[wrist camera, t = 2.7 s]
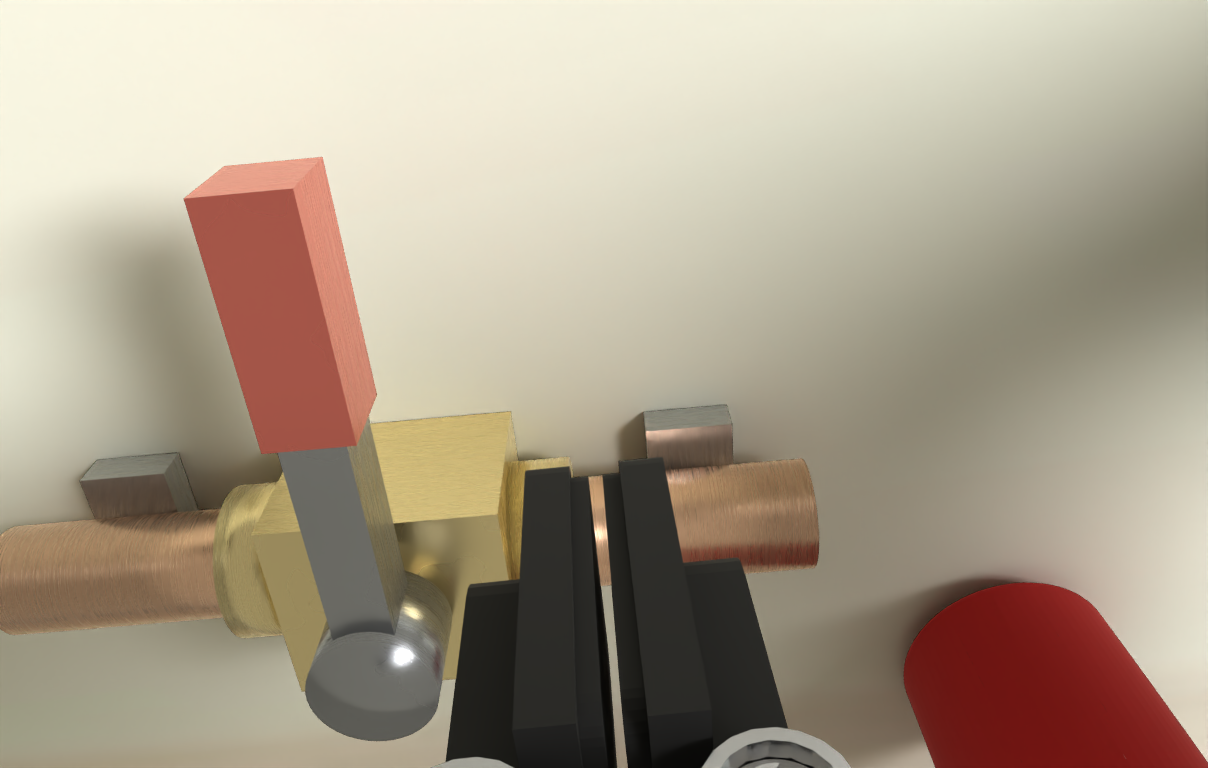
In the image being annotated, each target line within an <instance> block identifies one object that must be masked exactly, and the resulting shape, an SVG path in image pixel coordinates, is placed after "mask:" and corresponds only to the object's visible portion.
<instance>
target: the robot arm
mask: <svg viewBox="0 0 1208 768" xmlns="http://www.w3.org/2000/svg"><path fill="white" fill-rule="evenodd" d="M619 472H620V473H614V474H604V475H602V478H603V490H604V502H605V514H606V526H607V538H608V550H609V561H610V573H611V585H612V597H613V609H614V621H615V633H616V645H617V657H618V669H619V681H620V693H621V704H622V715H623V725H624V735H625V745H626V754H627V763H628V768H851V766H850V765H849V764H848V762H847V761H846V760H845V758H844V757H843V756H842V755H841V754H840V753H839V752H837V751H836V750H835V749H833V748H832V747H831V746H830V745H828V744H827V743H826V742H824V741H823V740H821V739H818V738H816V737H814V736H811V735H809V734H806V733H804V732H802V731H798V730H792V729H788V727H787V723H786V720H785V716H784V713H783V709H782V706H781V702H780V698H779V695H778V691H777V688H776V684H775V681H774V677H773V673H772V670H771V666H770V663H769V659H768V655H767V652H766V648H765V645H764V641H763V638H762V634H761V630H760V627H759V623H758V620H757V616H756V613H755V609H754V605H753V602H752V598H751V595H750V591H749V588H748V584H747V580H746V577H745V573H744V570H743V567H742V564H741V561H740V559H739V558H738V557H735V558H726V559H716V560H706V561H696V562H686V563H683V559H682V554H681V548H680V543H679V538H678V533H677V528H676V523H675V517H674V512H673V507H672V502H671V497H670V491H669V486H668V481H667V476H666V471H665V466H664V461H663V457H655V458H645V459H635V460H625V461H619ZM431 768H617V761H616V747H615V733H614V719H613V706H612V692H611V678H610V665H609V654H608V644H607V635H606V627H605V618H604V609H603V600H602V591H601V583H600V574H599V565H598V556H597V548H596V539H595V530H594V521H593V512H592V504H591V495H590V486H589V478H588V476H584V477H574V478H572V477H571V470H570V466H565V467H555V468H545V469H535V470H526V471H525V478H524V498H523V518H522V539H521V559H520V579H516V580H506V581H496V582H486V583H476V584H470V585H469V587H468V590H467V595H466V602H465V610H464V618H463V626H462V634H461V642H460V650H459V658H458V666H457V674H456V683H455V691H454V699H453V707H452V715H451V723H450V731H449V739H448V747H447V755H446V762H445V763H442V764H439V765H437V766H434V767H431Z"/></svg>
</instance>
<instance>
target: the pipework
mask: <svg viewBox="0 0 1208 768" xmlns="http://www.w3.org/2000/svg"><path fill="white" fill-rule="evenodd" d="M644 424H645V437H646V450H647V458H655V457H663V461H664V466H665V471H666V476H667V481H668V486H669V491H670V497H671V502H672V507H673V512H674V517H675V523H676V528H677V533H678V538H679V543H680V548H681V554H682V559H683V563H686V562H696V561H706V560H716V559H726V558H735V557H738V558H739V559H740V561H741V564H742V567H743V570H744V573H745V574H750V573H762V572H774V571H786V570H798V569H810V568H815V567H816V565H817V561H818V554H819V530H818V517H817V508H816V501H815V495H814V490H813V485H812V481H811V477H810V473H809V470H808V467H807V465H806V463H805V461H804V460H803V459H802V458H800V459H789V460H777V461H766V462H754V463H742V464H733V438H732V422H731V418H730V415H729V411H728V408H727V405H718V406H706V407H695V408H683V409H672V410H660V411H649V412H644ZM370 426H371V430H372V434H373V439H374V443H375V447H376V451H377V455H378V460H379V464H380V468H381V472H382V477H383V481H384V485H385V489H386V493H387V498H388V502H389V506H390V510H391V515H392V519H393V523H394V527H395V531H396V536H397V540H398V544H399V548H400V553H401V557H402V561H403V565H404V569H405V571H408V572H412V573H414V574H417V575H420V576H422V577H423V578H425V579H427V580H429V581H430V582H432V583H433V584H434V585H435V586H437V587H438V588H439V589H440V590H441V592H442V593H443V594H444V595H445V597H446V598H447V600H448V602H449V604H450V607H451V610H452V626H451V632H450V638H449V644H448V650H447V655H446V661H445V667H444V673H443V679H442V680H449V679H456V674H457V666H458V658H459V650H460V642H461V634H462V626H463V618H464V610H465V602H466V595H467V590H468V587H469V585H470V584H476V583H486V582H496V581H506V580H516V579H520V559H521V539H522V518H523V498H524V478H525V471H526V470H535V469H545V468H555V467H565V466H570V470H571V477H572V478H574V476H573V470H572V465H571V460H570V458H569V457H559V458H548V459H536V460H525V461H518V455H517V449H516V442H515V436H514V429H513V423H512V416H511V412H499V413H488V414H476V415H465V416H454V417H442V418H431V419H420V420H408V421H397V422H385V423H374V424H370ZM588 478H589V486H590V495H591V504H592V512H593V521H594V530H595V539H596V548H597V556H598V565H599V574H600V583H601V586H607V585H611V573H610V561H609V550H608V538H607V526H606V514H605V502H604V490H603V478H602V476H592V477H588ZM80 483H81V486H82V488H83V490H84V493H85V495H86V498H87V500H88V502H89V505H90V507H91V510H92V512H93V514H94V517H95V519H93V520H82V521H70V522H58V523H47V524H35V525H24V526H15V527H12V528H10V529H8V530H6V531H5V532H4V533H3V534H2V535H1V536H0V629H1V630H2V631H4V632H5V633H8V634H11V635H23V634H35V633H47V632H58V631H70V630H82V629H94V628H106V627H118V626H130V625H142V624H154V623H166V622H178V621H190V620H202V619H213V618H224V620H225V622H226V624H227V626H228V627H229V629H230V630H231V631H232V632H233V633H234V634H235V635H236V636H238V637H240V638H254V637H266V636H278V635H284V638H285V642H286V645H287V648H288V651H289V654H290V657H291V660H292V663H293V666H294V669H295V672H296V675H297V678H298V681H299V684H300V687H301V690H302V692H303V691H305V684H306V679H307V676H308V673H309V670H310V667H311V664H312V661H313V659H314V656H315V653H316V650H317V647H318V644H319V641H320V638H321V635H322V632H323V629H324V626H325V623H326V621H327V619H326V616H325V612H324V609H323V605H322V602H321V599H320V595H319V592H318V589H317V585H316V582H315V578H314V575H313V572H312V568H311V565H310V561H309V558H308V555H307V551H306V548H305V545H304V541H303V538H302V534H301V531H300V528H299V524H298V521H297V517H296V514H295V511H294V507H293V504H292V501H291V497H290V494H289V490H288V487H287V484H286V480H285V477H284V474H283V472H282V474H281V476H280V478H279V480H278V482H271V483H260V484H248V485H240V486H237V487H235V488H234V489H232V490H231V492H230V493H229V494H228V495H227V497H226V498H225V500H224V502H223V504H222V507H221V509H209V510H198V507H197V504H196V501H195V499H194V496H193V493H192V490H191V487H190V485H189V482H188V479H187V476H186V473H185V470H184V468H183V465H182V462H181V459H180V456H179V453H170V454H158V455H147V456H135V457H124V458H112V459H101V460H97V461H96V462H95V463H94V464H93V465H92V467H91V468H90V469H89V470H88V471H87V473H86V474H85V475H84V476H83V477H82V479H81V480H80Z"/></svg>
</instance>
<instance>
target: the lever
mask: <svg viewBox="0 0 1208 768" xmlns="http://www.w3.org/2000/svg"><path fill="white" fill-rule="evenodd" d="M184 201H185V205H186V208H187V211H188V214H189V218H190V221H191V224H192V228H193V231H194V234H195V237H196V241H197V244H198V247H199V251H200V254H201V257H202V260H203V264H204V267H205V270H206V273H207V277H208V280H209V283H210V287H211V290H212V293H213V296H214V300H215V303H216V306H217V310H218V313H219V316H220V319H221V323H222V326H223V329H224V332H225V336H226V339H227V342H228V346H229V349H230V352H231V355H232V359H233V362H234V365H235V369H236V372H237V375H238V378H239V382H240V385H241V388H242V391H243V395H244V398H245V401H246V405H247V408H248V411H249V414H250V418H251V421H252V424H253V428H254V431H255V434H256V437H257V441H258V444H259V447H260V451H261V454H268V453H278V457H279V460H280V463H281V467H282V470H283V474H284V477H285V480H286V484H287V487H288V490H289V494H290V497H291V501H292V504H293V507H294V511H295V514H296V517H297V521H298V524H299V528H300V531H301V534H302V538H303V541H304V545H305V548H306V551H307V555H308V558H309V561H310V565H311V568H312V572H313V575H314V578H315V582H316V585H317V589H318V592H319V595H320V599H321V602H322V605H323V609H324V612H325V616H326V619H327V621H326V623H325V626H324V629H323V632H322V635H321V638H320V641H319V644H318V647H317V650H316V653H315V656H314V659H313V661H312V664H311V667H310V670H309V673H308V676H307V679H306V684H305V694H306V698H307V701H308V704H309V706H310V708H311V709H312V711H313V712H314V714H315V715H316V716H317V717H318V718H319V719H320V720H321V721H322V722H323V723H325V724H326V725H327V726H329V727H330V728H332V729H333V730H335V731H337V732H339V733H341V734H344V735H346V736H349V737H353V738H357V739H361V740H368V741H387V740H394V739H399V738H402V737H405V736H408V735H411V734H413V733H415V732H416V731H418V730H420V729H421V728H422V727H424V726H425V725H426V724H427V723H428V722H429V721H430V720H431V719H432V717H433V715H434V714H435V712H436V709H437V706H438V702H439V696H440V690H441V685H442V679H443V673H444V667H445V661H446V655H447V650H448V644H449V638H450V632H451V626H452V610H451V607H450V604H449V602H448V600H447V598H446V597H445V595H444V594H443V593H442V592H441V590H440V589H439V588H438V587H437V586H435V585H434V584H433V583H432V582H430V581H429V580H427V579H425V578H423V577H422V576H420V575H417V574H414V573H412V572H408V571H405V569H404V565H403V561H402V557H401V553H400V548H399V544H398V540H397V536H396V531H395V527H394V523H393V519H392V515H391V510H390V506H389V502H388V498H387V493H386V489H385V485H384V481H383V477H382V472H381V468H380V464H379V460H378V455H377V451H376V447H375V443H374V439H373V434H372V430H371V426H370V422H369V417H368V416H369V414H370V411H371V409H372V406H373V403H374V401H375V398H376V396H377V393H376V388H375V384H374V380H373V375H372V371H371V367H370V362H369V358H368V353H367V349H366V345H365V340H364V336H363V332H362V327H361V323H360V319H359V314H358V310H357V305H356V301H355V297H354V292H353V288H352V284H351V279H350V275H349V271H348V266H347V262H346V257H345V253H344V249H343V244H342V240H341V236H340V231H339V227H338V223H337V218H336V214H335V209H334V205H333V201H332V196H331V192H330V188H329V183H328V179H327V175H326V170H325V166H324V161H323V157H317V158H306V159H295V160H285V161H274V162H264V163H253V164H242V165H232V166H224V167H223V168H221V169H220V170H219V171H218V172H216V173H215V174H214V175H213V176H211V177H210V178H209V179H208V180H206V181H205V182H204V183H203V184H201V185H200V186H199V187H198V188H196V189H195V190H194V191H193V192H191V193H190V194H189V195H188V196H186V197H185V198H184Z"/></svg>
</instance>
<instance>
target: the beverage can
mask: <svg viewBox="0 0 1208 768" xmlns="http://www.w3.org/2000/svg"><path fill="white" fill-rule="evenodd" d="M904 685H905V689H906V693H907V695H908V698H909V700H910V703H911V706H912V708H913V711H914V713H915V716H916V719H917V721H918V724H919V726H920V729H921V732H922V734H923V737H924V739H925V742H926V745H927V747H928V750H929V752H930V755H931V757H932V760H933V763H934V765H935V768H1208V762H1207V761H1206V759H1205V758H1204V756H1203V755H1202V754H1201V752H1200V751H1199V749H1198V748H1197V747H1196V745H1195V744H1194V742H1193V741H1192V740H1191V738H1190V737H1189V735H1188V734H1187V733H1186V731H1185V730H1184V728H1183V727H1182V726H1181V724H1180V723H1179V721H1178V720H1177V719H1176V717H1175V716H1174V714H1173V713H1172V712H1171V710H1170V709H1169V708H1168V706H1167V705H1166V703H1165V702H1164V701H1163V699H1162V698H1161V697H1160V695H1159V694H1158V692H1157V691H1156V690H1155V688H1154V687H1153V685H1152V684H1151V683H1150V681H1149V680H1148V679H1147V677H1146V676H1145V674H1144V673H1143V672H1142V670H1141V669H1140V668H1139V666H1138V665H1137V663H1136V662H1135V661H1134V659H1133V658H1132V657H1131V655H1130V654H1129V652H1128V651H1127V650H1126V648H1125V647H1124V646H1123V644H1122V643H1121V642H1120V640H1119V639H1118V638H1117V636H1116V635H1115V634H1114V632H1113V631H1112V629H1111V628H1110V627H1109V625H1108V624H1107V623H1106V621H1105V620H1104V619H1103V617H1102V616H1101V615H1100V613H1099V612H1098V611H1097V609H1096V608H1095V607H1094V606H1093V605H1092V604H1091V603H1089V602H1088V601H1087V600H1085V599H1084V598H1083V597H1081V596H1080V595H1078V594H1076V593H1074V592H1072V591H1070V590H1067V589H1064V588H1061V587H1058V586H1054V585H1049V584H1043V583H1011V584H1004V585H999V586H994V587H990V588H987V589H983V590H980V591H977V592H975V593H972V594H970V595H968V596H966V597H964V598H961V599H959V600H958V601H956V602H954V603H952V604H951V605H949V606H948V607H946V608H945V609H943V610H942V611H941V612H939V613H938V614H937V615H936V616H935V617H933V618H932V619H931V620H930V621H929V622H928V623H927V624H926V625H925V626H924V628H923V629H922V630H921V631H920V632H919V634H918V635H917V637H916V638H915V640H914V641H913V643H912V645H911V647H910V649H909V651H908V654H907V657H906V660H905V665H904Z"/></svg>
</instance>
